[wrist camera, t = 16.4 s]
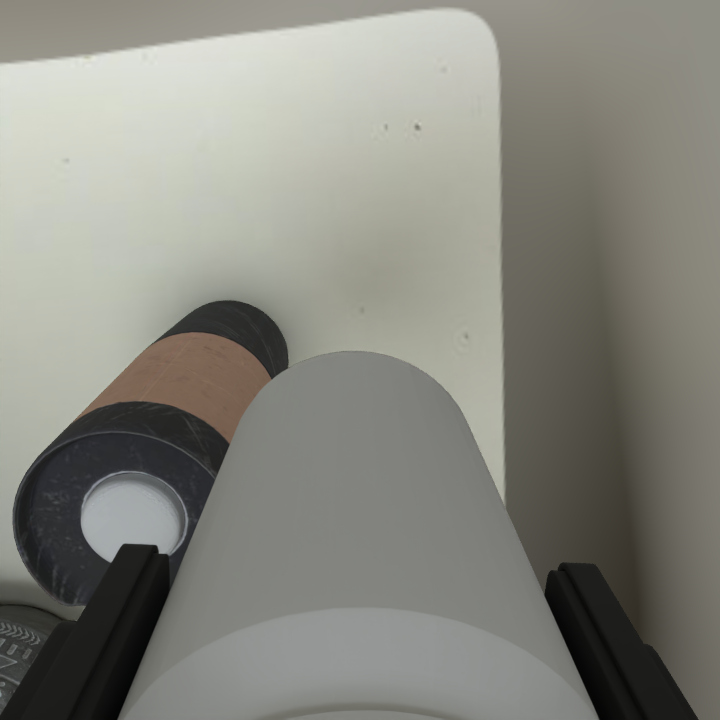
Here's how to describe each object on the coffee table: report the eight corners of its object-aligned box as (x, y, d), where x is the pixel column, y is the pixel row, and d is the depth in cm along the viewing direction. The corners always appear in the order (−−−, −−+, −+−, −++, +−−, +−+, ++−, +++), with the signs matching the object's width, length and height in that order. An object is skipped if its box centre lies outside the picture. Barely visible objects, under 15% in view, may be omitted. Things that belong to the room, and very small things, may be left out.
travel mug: (258, 274, 39) (173, 387, 20) (313, 386, 42) (283, 583, 22) (144, 325, 40) (-41, 481, 21) (204, 432, 42) (84, 662, 23)
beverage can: (240, 331, 17) (20, 684, 6) (487, 353, 17) (750, 734, 6) (231, 547, 19) (49, 1143, 8) (454, 564, 19) (606, 1164, 8)
